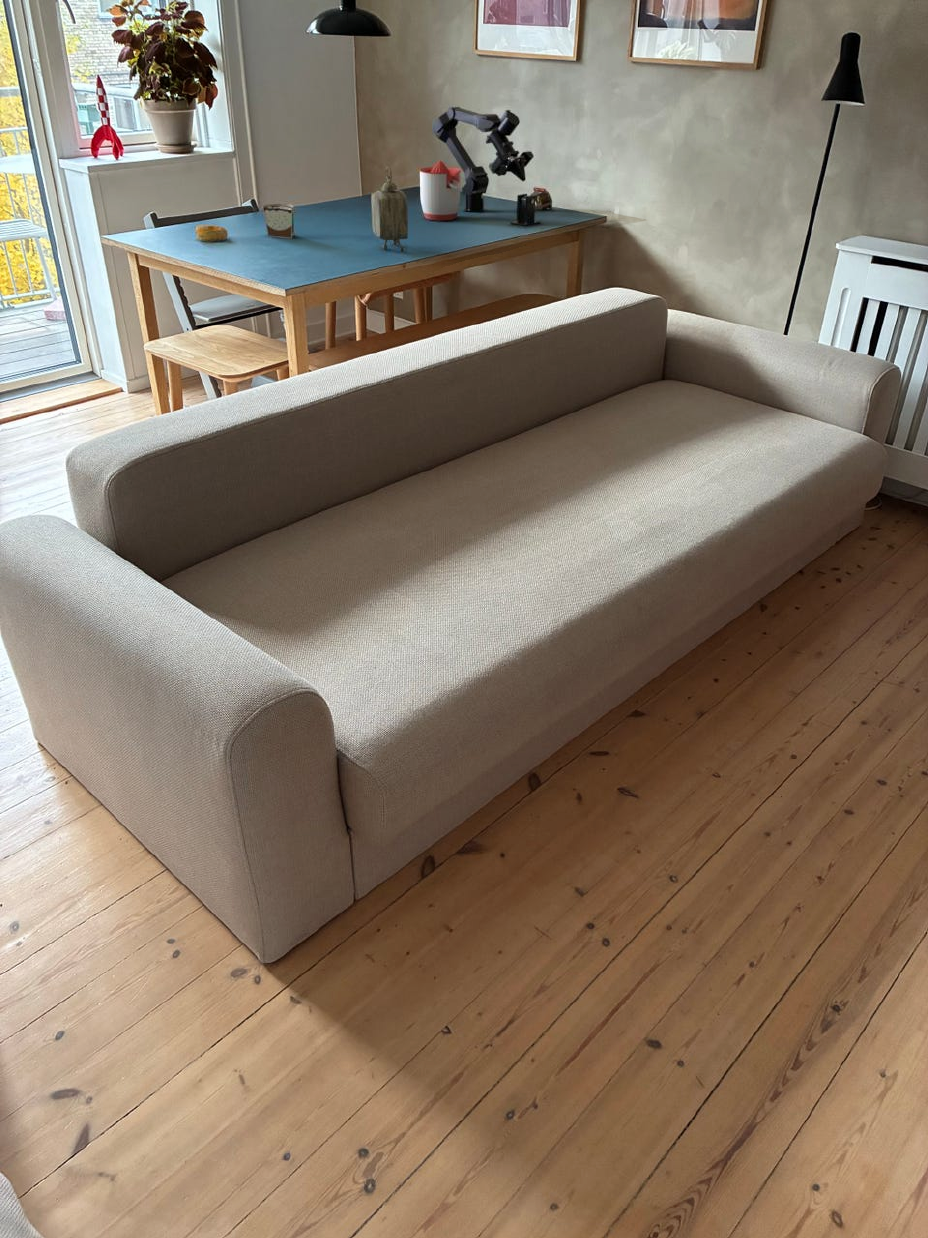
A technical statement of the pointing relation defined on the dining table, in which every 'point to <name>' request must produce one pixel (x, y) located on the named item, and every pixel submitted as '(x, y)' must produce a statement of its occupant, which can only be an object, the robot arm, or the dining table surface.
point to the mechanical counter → (543, 201)
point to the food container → (279, 220)
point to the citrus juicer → (440, 192)
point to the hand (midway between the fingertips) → (524, 180)
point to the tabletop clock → (390, 213)
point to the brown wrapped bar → (537, 190)
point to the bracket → (525, 211)
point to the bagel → (211, 233)
